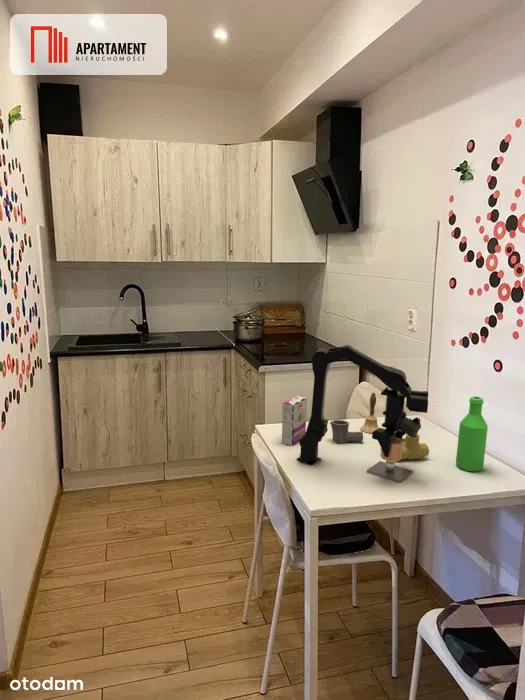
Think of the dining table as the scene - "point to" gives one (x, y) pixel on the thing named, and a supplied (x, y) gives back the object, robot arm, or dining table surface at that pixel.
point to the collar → (394, 451)
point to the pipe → (344, 432)
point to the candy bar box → (293, 420)
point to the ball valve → (413, 448)
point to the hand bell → (370, 418)
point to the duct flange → (390, 471)
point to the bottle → (472, 438)
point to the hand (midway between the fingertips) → (390, 453)
